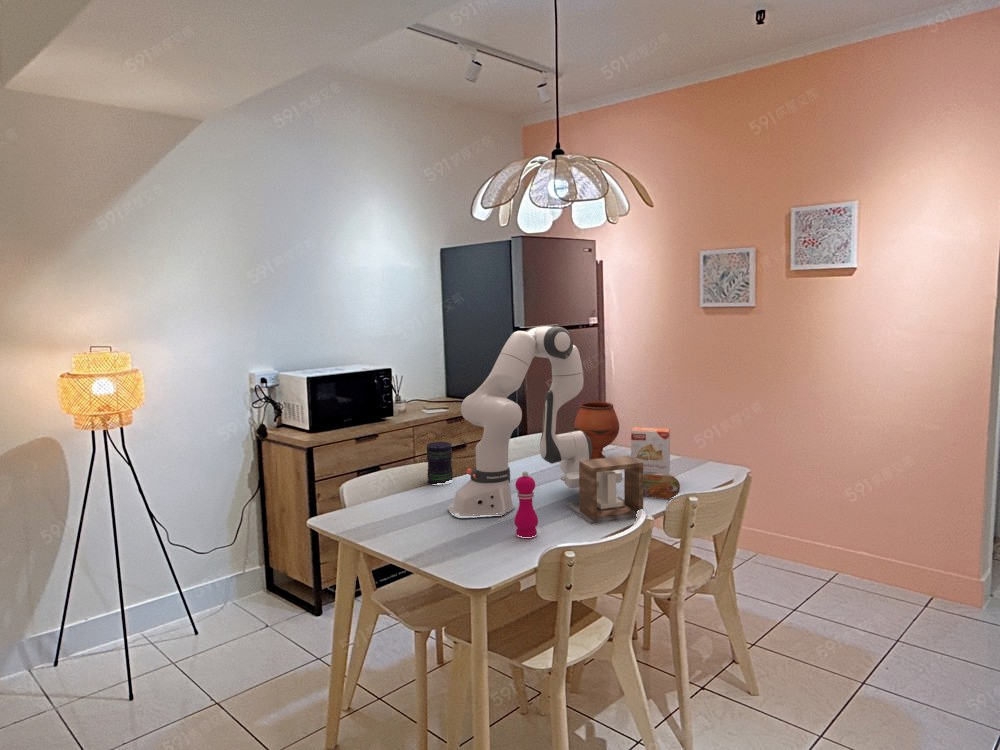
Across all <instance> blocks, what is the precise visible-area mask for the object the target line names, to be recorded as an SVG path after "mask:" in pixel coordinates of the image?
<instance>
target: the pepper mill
mask: <svg viewBox="0 0 1000 750" xmlns="http://www.w3.org/2000/svg"><path fill="white" fill-rule="evenodd" d="M521 475H522V476H519V478H517V479H516V481H515V489H516V490H517V494H516V495H517V496H516V497H517V498H518V501H519V502H518V504H519V505H518V508H517V511H516V513H515V515H514V521H513V522H514V525H515V527H516V530H515V535H516V534H517V535H519V536H522V537H532V536H535V535H536V534H537V535H538V533H537V532H538V531H537V528H536V527H537V526H538V524H539V519H538V514H537V513H536V511H535V509H534V505H533V499H534V496H535V495H534V494H535V493H534V491H535V488H536V482H535V479H534V478H533V477H532V476H530V475H529V473H528V472H527V471H526V470H525V471H523V472H522V474H521Z"/></svg>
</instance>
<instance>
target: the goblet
mask: <svg viewBox="0 0 1000 750" xmlns="http://www.w3.org/2000/svg"><path fill="white" fill-rule="evenodd" d="M578 407H579V408H578V411H577V415H576V417H575V421H574V425H573V432H574V431H583V432H584V433H585V434H586V435H587V436H588V437H589V439H590V440H591V444H592V455H591V458H590V460H591V459H600V458H606V456H605V455H604V454H603V453H602V452H603V451H604V448H606V447H608V446H609V445H610V444H612V443H613V442H614V441H615V440H616V439H617V437H618V436H619V433H620V421H619V418H618V416H617V413H616V410H615V409H614V405H613V403H612V402H607V401H597V400H596V401H587V402H583V403H580V404H579V406H578Z"/></svg>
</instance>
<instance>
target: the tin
mask: <svg viewBox="0 0 1000 750" xmlns="http://www.w3.org/2000/svg"><path fill="white" fill-rule="evenodd" d="M680 484H681V483H680V482H679V480H678V479H677V478H676V477H675V476H673V475H671V474H670V475H662V474H652V473H647V474H644V475H643V497H644V498H650V497H654V498H653V499H659V498H664V499H663V500H671V499H670V498H672V497H674V496H676V495H677V496H678V494H679V493H680V491H681V485H680ZM677 496H676V497H677ZM655 497H656V498H655Z"/></svg>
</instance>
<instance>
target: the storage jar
mask: <svg viewBox="0 0 1000 750" xmlns="http://www.w3.org/2000/svg"><path fill="white" fill-rule="evenodd" d="M452 458H453V450H452V443H451V442H447V441H436V442H435V441H434V442H430V443H427V444H426V459H427V480H428V481H427V484H428V485H430V486H433V485H432V484H437V483H445V482H446V481H449V480H453V477H454V476H453V475H454V472H453V467H452V466H453V465H452V463H453V462H452Z"/></svg>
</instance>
